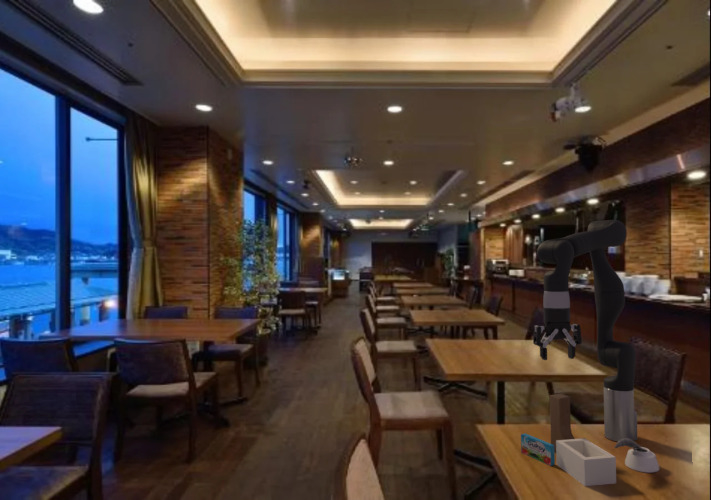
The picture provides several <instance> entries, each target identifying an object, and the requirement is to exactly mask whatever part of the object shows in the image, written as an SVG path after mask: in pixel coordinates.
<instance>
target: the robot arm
mask: <svg viewBox="0 0 711 500" xmlns="http://www.w3.org/2000/svg"><path fill="white" fill-rule="evenodd" d="M627 233H628V232H627V228H626V225H625V223H624V222H622V221H621V220H617V219H607V220H596V221H595V220H594V221H591V222H589V224H588V226H587V231H581V232H575V233H573V234H570V235H566V236H565V237H560V238H559V237H558V238H553V239H547V240H545V241H542V242H541V243H540V244H539V245H538V247H537V249H536V256H537V258H538V259H539V261H540V262H542V263H544V264H548V265H549V264H550V265H551V264H552V265H553V264H556V267H555V268H554V270H551V271H547V272H545V273H544V275H543V299H542V300H543V301H542V302H543V325H534V326H533V337H532V338H533V339H532V340H533V341H532V342H533V343H532V344H533V345H534V346H538V347H539V356H540V358H541V359H542V361H543V360H544V361H547V360H548V347H547V346H548V345H549V343H551V342H552V340H553V341H555V340H563V341H564V340H565V342H566V343H567V344H568V345H567V357H568V358H569V359H570V360H574V359H575V357H576V346H577V345H582V342H583V340H582V331H581V325H580V324H578V323H572V324H571V323H570V321H571V299H570V291H569V289H570V288H569V287H570V286H569V277H570V274H571V270H572V269H571V268H572V264H573V261H574V258H576V257H579V256H582V255H584V254H588V253H589V254H590V259H591V265H592V275H593V287H594V288H593V290H594V291H593V292H594V301H595V310H596V322H597V323H596V325H597V329H596V330H597V335H596V336H597V337H596V339H597V341H596V350H597V351H596V352H597V359H598V361H599V363H600V364H601V365H602V366H605V367H608V368H609V367H610V368H615V369H617V371H616V372H617V373H616V375H611V376H607V377H605V378H603V412H604V413H603V418H604V419H603V420H604V421H603V422H604V423H603V424H604V425H603V426H604V429H603V430H604V431H603V432H604V437H605V438H607V439H609V440H610V441H613V442H614V441H615V442H618V441H619V440H621V439H624V438H629V439H631V440H633V441H634V442H635V441H637V440H638V413H637V411H636V410H635V397H634V396H635V395H634V394H635V392H634V391H635V390H634V389H635V388H634V386H635V380H636V364H637V363H636V359H637V355H636V349H635V347H634V345H633V344H631V343H630V342H626V341H617V340H614V327H615V326H614V325H615V324H616V322H617V319H619V316H620V315H621V313H622V312H623V309H624V307H625V305H626V296H625V287H624V282H623V281H622V279H621V278H620V276H619V275H618V273H617V272H616V270H615V269H614V268H613V267H612V265H611V264H610V262H609V261H608V257H607V254H606V248H616V247H619V246H622V245H623V244H624V243H625V241H626V239H627ZM543 331H544V334H543V336H542V333H543ZM570 331H572V335H573V336H572V335H570Z"/></svg>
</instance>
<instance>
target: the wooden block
mask: <svg viewBox="0 0 711 500" xmlns="http://www.w3.org/2000/svg"><path fill="white" fill-rule="evenodd" d="M549 411H550V413H549V414H550V418H549V419H550V444H553V445H554V451H555V453H556V440H569V439H576V438H575V436H574V435H573V433H572V429H571V428H572V425H571V424H572V422H571V420H572V419H571V397H570V396H569V395H566V394H563V393H557V394H550V396H549Z"/></svg>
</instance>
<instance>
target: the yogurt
mask: <svg viewBox="0 0 711 500" xmlns="http://www.w3.org/2000/svg"><path fill="white" fill-rule="evenodd" d="M520 452H521V453H522V454H523V455H525V456H527V457H530V458H532V459H534V460H536V461H539V462H541V463H543V464H545V465H547V466H550V467H552V466H555V464H556V458H555V457H556V452H555V451H554V445H553V444H551V442H547V441H546V440H543V439H540V438H537V437H535V436H532V435H530V434H528V433H521V434H520Z"/></svg>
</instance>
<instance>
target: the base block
mask: <svg viewBox="0 0 711 500" xmlns="http://www.w3.org/2000/svg"><path fill="white" fill-rule="evenodd" d="M555 457H556V458H555V464H556V465H557V466H558V467H559V468H561V470H563V471H564V472H565V473H567V474H568V475H570V476H571V478H573V479H574V480H576V481H577V482H579V483H580V484H581V485H583V487H590V486H591V487H592V486H601V485H614V484H617V467H616V466H617V461H616V459H617V458H616V456H614V455H613V454H611V453H610V452H608V451H606V450H605V449H603V448H602V447H599V446H598V445H597V444H595V443H593V442H591V441H590V440H588V439H587V438H584V437H583V438H575V439H569V440H556V452H555Z"/></svg>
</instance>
